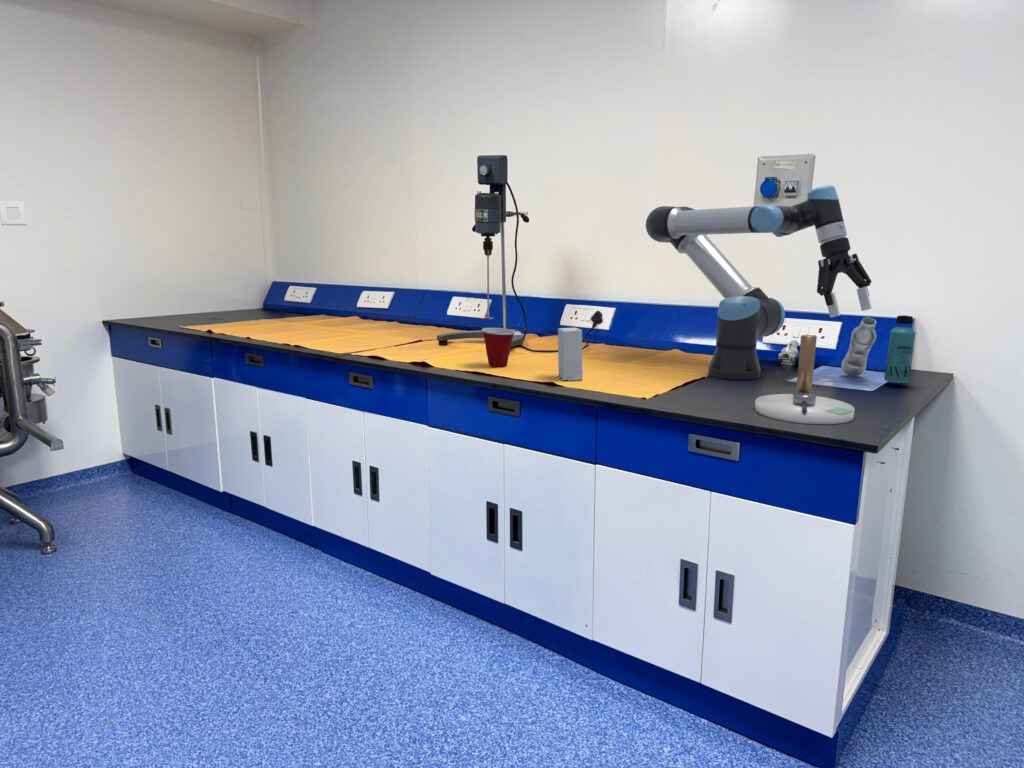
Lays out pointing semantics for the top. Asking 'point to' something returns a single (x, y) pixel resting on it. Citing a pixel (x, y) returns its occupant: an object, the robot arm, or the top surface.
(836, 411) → the round white plate
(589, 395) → the top surface
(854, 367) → the silver metal bottle
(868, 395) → the top surface
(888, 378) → the beverage bottle
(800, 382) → the crank handle
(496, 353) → the plastic cup
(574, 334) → the skincare box
